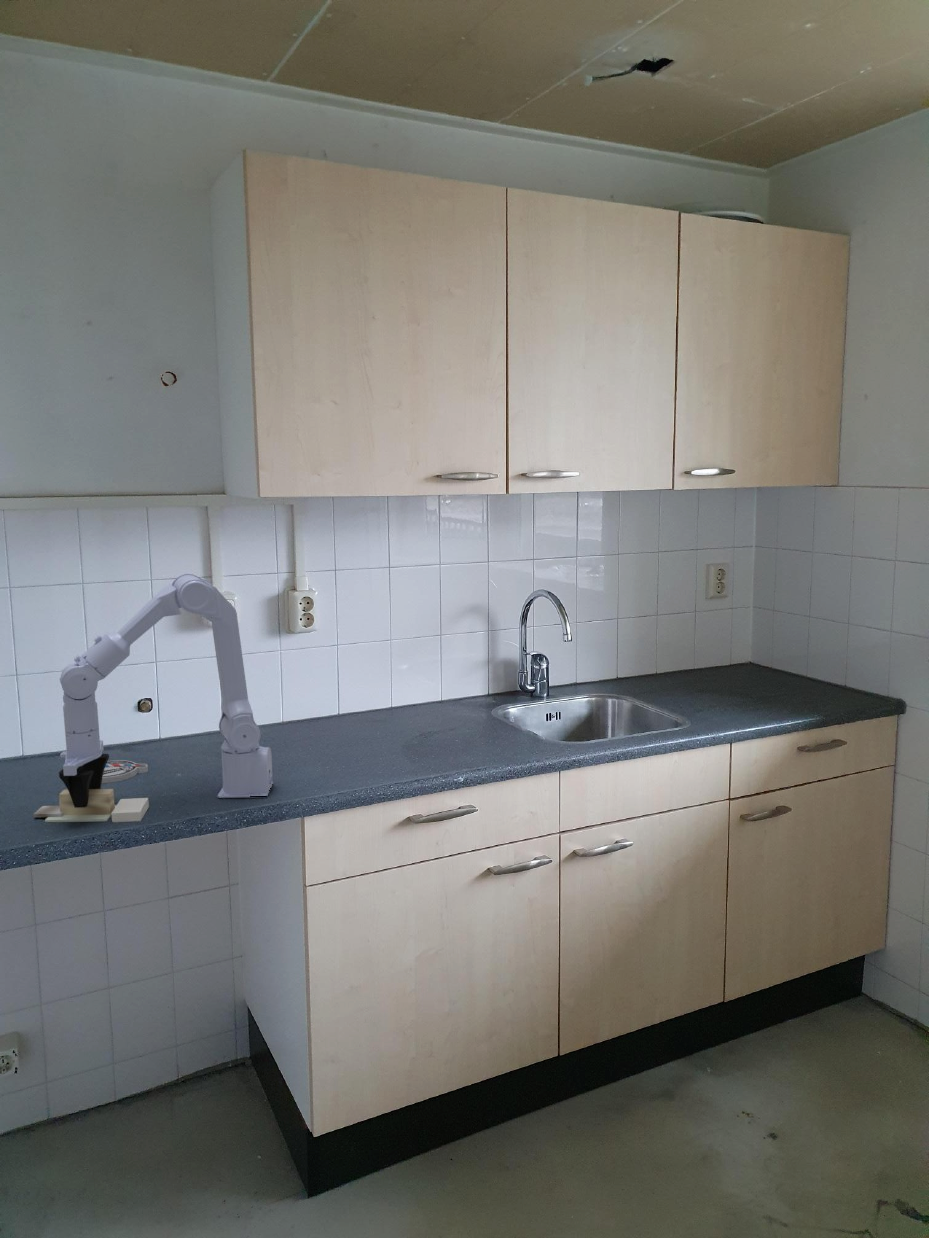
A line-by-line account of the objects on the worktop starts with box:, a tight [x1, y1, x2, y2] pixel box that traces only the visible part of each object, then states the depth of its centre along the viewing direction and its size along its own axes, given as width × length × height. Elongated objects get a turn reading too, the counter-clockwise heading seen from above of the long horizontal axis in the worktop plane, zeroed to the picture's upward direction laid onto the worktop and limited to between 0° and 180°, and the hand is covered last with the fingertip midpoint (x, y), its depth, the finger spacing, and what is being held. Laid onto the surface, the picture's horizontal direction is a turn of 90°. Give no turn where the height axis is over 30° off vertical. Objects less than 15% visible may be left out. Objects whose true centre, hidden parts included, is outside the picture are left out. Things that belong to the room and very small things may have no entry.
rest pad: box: [44, 804, 117, 823], centre depth 172 cm, size 11×7×1 cm, turn 92°
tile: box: [111, 797, 150, 823], centre depth 172 cm, size 5×2×7 cm
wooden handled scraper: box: [33, 788, 116, 818], centre depth 171 cm, size 14×4×4 cm, turn 92°
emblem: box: [101, 759, 149, 784], centre depth 194 cm, size 12×2×15 cm
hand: (87, 800), depth 171 cm, fingers open, 6 cm apart
